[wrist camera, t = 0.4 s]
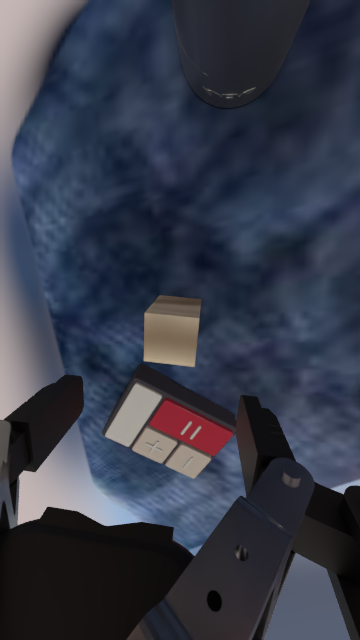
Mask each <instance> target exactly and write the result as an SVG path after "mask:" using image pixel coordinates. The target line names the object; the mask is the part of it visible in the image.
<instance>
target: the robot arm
mask: <svg viewBox="0 0 360 640" xmlns="http://www.w3.org/2000/svg"><path fill="white" fill-rule="evenodd" d="M310 1H311V0H171V3H172V9H173V16H174V23H175V29H176V36H177V42H178V48H179V55H180V61H181V65H182V68H183V72H184V75H185V77H186V79H187V81H188V83H189V85H190V87H191V88H192V89H193V91H194V92H195V93H196V94H197V96H199V97H200V98H201V99H202V100H204V101H205V102H206V103H209V104H211V105H213V106H215V107H221V108H234V107H239V106H242V105H245V104H247V103H249V102H251V101H252V100H254V99H256V98H257V97H259V96H260V95H261V94H262V93H263V92H264V91H265V90H266V89H267V88H268V87H269V86H270V85H271V83H272V82H273V80H274V79H275V78H276V76H277V75H278V73H279V71H280V69H281V67H282V65H283V63H284V61H285V58H286V56H287V54H288V51H289V49H290V47H291V44H292V42H293V40H294V37H295V35H296V33H297V30H298V28H299V26H300V24H301V22H302V19H303V17H304V15H305V12H306V10H307V8H308V5H309V3H310ZM83 406H84V396H83V380H82V377H81V376H75V375H64V376H63V377H62V378H60V379H59V380H58V381H57V382H56V383H52V384H50V385H48V386H46V387H44V388H42V389H41V390H40V391H38V392H37V393H36V394H35V395H34V396H32V397H31V398H30V399H29V400H28V401H27V402H25V403H24V404H22V405H21V406H20V407H19V408H17V409H16V410H15V411H14V412H12V413H11V414H10V415H9V416H8V417H6V418H5V419H4V420H0V640H264V638H265V635H266V632H267V629H268V627H269V624H270V620H271V618H272V615H273V611H274V609H275V606H276V603H277V601H278V598H279V595H280V593H281V590H282V587H283V585H284V582H285V580H286V577H287V575H288V572H289V569H290V567H291V564H292V562H293V558H294V556H295V554H296V553H298V554H300V555H301V556H303V557H305V558H307V559H309V560H311V561H313V562H315V563H317V564H319V565H321V566H322V567H325V568H326V569H327V571H328V574H329V577H330V580H331V583H332V586H333V589H334V592H335V595H336V598H337V600H338V604H339V607H340V610H341V612H342V615H343V618H344V621H345V624H346V627H347V630H348V633H349V636H350V639H351V640H360V486H349V487H348V488H347V489H346V490H345V493H344V494H341V493H339V492H336V491H334V490H331V489H329V488H326V487H324V486H322V485H320V484H318V483H316V482H314V480H313V477H312V476H311V474H310V473H309V472H308V470H307V469H306V468H305V467H303V466H302V465H301V464H299V463H298V462H296V460H295V458H294V456H293V453H292V451H291V449H290V447H289V444H288V442H287V440H286V438H285V435H284V434H283V431H282V428H281V427H280V424H279V422H278V419H277V417H276V416H275V415H274V414H273V413H272V412H271V411H270V410H269V409H266V408H261V405H260V402H259V400H258V397H256V396H248V395H241V396H240V401H239V407H238V414H237V421H236V437H237V443H238V449H239V455H240V461H241V467H242V473H243V479H244V484H245V490H246V496H247V497H246V498H244V497H243V496H240V497H238V498H237V500H236V501H235V502H234V503H233V505H232V506H231V508H230V509H229V510H228V512H227V513H226V514H225V516H224V517H223V519H222V520H221V521H220V523H219V524H218V525H217V527H216V528H215V529H214V531H213V532H212V534H211V535H210V536H209V538H208V539H207V540H206V542H205V543H204V545H203V546H202V547H201V549H200V550H199V551H198V553H197V554H196V556H194V555H192V553H190V552H189V551H188V550H187V549H186V548H185V547H183V546H182V545H180V544H179V543H177V542H175V541H173V530H174V527H169V526H163V525H157V524H151V523H144V522H138V523H130V524H122V525H114V526H104V525H101V524H100V523H98V522H96V521H94V520H92V519H91V518H89V517H87V516H85V515H83V514H81V513H79V512H77V511H71V510H64V509H59V508H52V507H47V508H46V510H45V512H44V513H43V515H42V516H41V518H40V519H37V520H33V521H29V522H26V523H23V524H20V525H18V526H17V520H18V500H19V475H20V474H21V472H23V470H25V471H32V472H36V471H37V469H38V468H39V467H40V465H41V464H42V463H43V462H44V461H45V459H46V458H47V457H48V456H49V454H50V453H51V452H52V450H53V449H54V448H55V447H56V445H57V444H58V443H59V442H60V440H61V439H62V438H63V436H64V435H65V433H67V431H68V430H69V429H70V428H71V426H72V425H73V424H74V422H75V421H76V420H77V419H78V417H79V416H80V415H81V413H82V410H83Z"/></svg>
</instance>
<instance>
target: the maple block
mask: <svg viewBox="0 0 360 640" xmlns="http://www.w3.org/2000/svg"><path fill="white" fill-rule="evenodd" d="M200 309H201V299H195V298H185V297H174V296H163V295H159V296H158V298H157V299H156V300H155V301H154V302H153V304H152V305H151V306H150V307H149V308H148V309H147V311H146V312H145V324H144V361H148V362H157V363H165V364H174V365H182V366H191V367H195V358H196V348H197V339H198V329H199V319H200Z"/></svg>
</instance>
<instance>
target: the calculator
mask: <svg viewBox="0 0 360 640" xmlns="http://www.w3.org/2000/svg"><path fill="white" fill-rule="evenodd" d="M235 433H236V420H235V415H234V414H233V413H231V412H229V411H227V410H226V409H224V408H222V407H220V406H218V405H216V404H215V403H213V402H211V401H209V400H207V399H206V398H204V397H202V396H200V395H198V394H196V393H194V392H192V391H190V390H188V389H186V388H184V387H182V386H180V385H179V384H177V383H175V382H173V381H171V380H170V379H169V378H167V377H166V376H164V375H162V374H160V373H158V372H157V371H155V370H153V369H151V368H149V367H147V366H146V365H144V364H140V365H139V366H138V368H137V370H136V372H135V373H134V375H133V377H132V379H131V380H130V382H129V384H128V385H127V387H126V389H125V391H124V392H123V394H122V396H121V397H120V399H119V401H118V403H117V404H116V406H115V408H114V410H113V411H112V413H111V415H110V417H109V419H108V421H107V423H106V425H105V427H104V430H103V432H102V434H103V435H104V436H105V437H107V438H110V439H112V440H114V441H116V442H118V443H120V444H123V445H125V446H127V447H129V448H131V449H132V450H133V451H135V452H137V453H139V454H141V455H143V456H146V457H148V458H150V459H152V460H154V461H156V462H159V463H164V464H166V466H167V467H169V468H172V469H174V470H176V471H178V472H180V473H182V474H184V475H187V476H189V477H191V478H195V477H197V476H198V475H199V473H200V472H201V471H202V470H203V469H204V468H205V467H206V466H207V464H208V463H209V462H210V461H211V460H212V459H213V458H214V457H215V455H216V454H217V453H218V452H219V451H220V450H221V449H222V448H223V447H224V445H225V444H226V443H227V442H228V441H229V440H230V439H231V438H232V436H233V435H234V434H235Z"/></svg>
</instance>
